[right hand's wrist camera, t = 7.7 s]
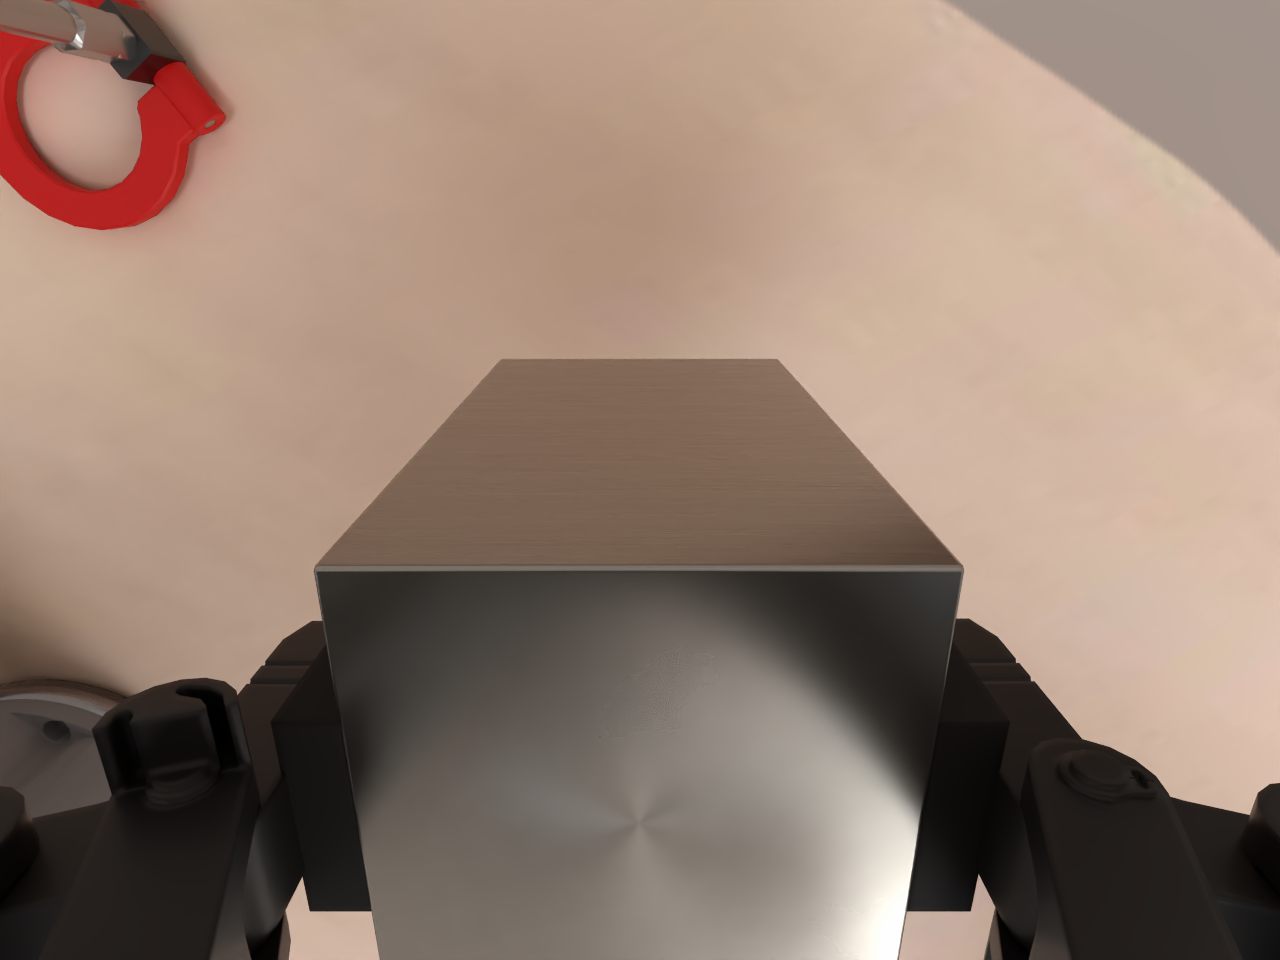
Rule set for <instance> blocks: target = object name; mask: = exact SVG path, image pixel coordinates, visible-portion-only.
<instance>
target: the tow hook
mask: <svg viewBox="0 0 1280 960" xmlns="http://www.w3.org/2000/svg"><path fill="white" fill-rule="evenodd" d="M50 44H53V46H54V47H55V48H56V49H58V50H59V51H61V52H63V53H67V54H72V55H76V56H81V57H85V58H90V59H95V60H100V61H103V62H108V63H110V64H111V65H112V67H113V68H114V69H115V70H116V71H117V73H118V74H119V75H120V76H121V77H122V78H123V79H127V80H132V81H137V82H142V83H147V84H152V85H154V86H153V87H152V88H151V89H150V90H149V91H148V92H147V93H146V94H145V95H144V96H143V97H142V98H141V99H140V100H139V101H138V107H137V110H138V113H139V116H140V120H141V130H142V143H141V150H140V156H139V158H138V160H137V162H136V164H135V167H134V169H133V171H132V172H131V173H130V174H129V175H128V176H127V177H126V178H125V179H124V180H123V181H122V182H121V183H119V184H117V185H115V186H113V187H111V188H109V189H106V190H99V191H95V190H88V189H84V188H81V187H79V186H76V185H74V184H72V183H69V182H67V181H66V180H64V179H63V178H62V177H60V176H59V175H57V174H56V173H54V172H53V171H52V170H51V169H50V168H49V167H48V166H47V165H46V164H45V163H44V162H43V161H42V160H41V159H40V158H39V157H38V155H37V154H36V152H35V151H34V149H33V148H32V146H31V144H30V143H29V141H28V140H27V138H26V135H25V133H24V130H23V128H22V125H21V123H20V120H19V115H18V109H17V102H16V95H17V83H18V79H19V77H20V74H21V71H22V69H23V66H24V65H25V63H26V62H27V61H28V60H29V59H30V57H31V56H32V55H33V54H34V53H35V52H37V51H38V50H40V49H42V48H44V47H45V46H47V45H50ZM225 118H226V115H225V114H224V113H223V111H222V110H221V109H220V108H219V106H218V105H217V104H216V103H215V101H214V100H213V99H212V98H211V96H210V95H209V94H208V93H207V91H206V90H205V89H204V88H203V86H202V85H201V84H200V83H199V81H198V80H197V79H196V78H195V76H194V75H193V74H192V73H191V71H190V70H189V69H188V68H187V66H186V61H185V60H184V58H183V57H182V56H181V55H180V53H179V52H178V51H177V50H176V48H175V47H174V46H173V45H172V43H171V42H170V41H169V40H168V38H167V37H166V36H165V35H164V33H163V32H162V31H161V30H160V28H159V27H158V26H157V25H156V23H155V22H154V21H153V19H152V18H151V17H150V16H149V14H148V13H146V12H145V11H143V10H141V9H140V7H139V6H138V5H137V4H136V2H135V1H134V0H0V175H1V176H2V177H3V178H4V179H5V180H6V181H7V182H8V183H9V184H10V185H11V186H12V187H13V188H14V189H15V190H16V191H17V192H18V193H19V194H20V195H21V196H22V197H23V198H24V199H25V200H27V201H28V202H30V203H31V204H33V205H34V206H35V207H37V208H38V209H40V210H41V211H43V212H44V213H46V214H47V215H49V216H51V217H54V218H56V219H59V220H61V221H63V222H66V223H68V224H71V225H73V226H77V227H84V228H91V229H98V230H107V229H116V228H123V227H130V226H136V225H138V224H140V223H142V222H144V221H146V220H148V219H150V218H152V217H154V216H156V215H157V214H158V213H159V212H160V211H161V210H162V209H163V208H164V207H165V206H166V205H167V204H168V203H169V202H170V201H171V200H172V199H173V198H174V196H175V194H176V192H177V190H178V188H179V185H180V183H181V181H182V179H183V177H184V174H185V168H186V162H187V157H188V151H189V144H190V143H191V142H192V141H193V140H194V139H195V138H196V137H197V136H199V135H205V134H208V133H210V132H212V131H214V130H215V129H217V128H218V127H219V126H220V125H221V124H222V123H223V122H224V121H225Z"/></svg>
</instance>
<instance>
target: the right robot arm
mask: <svg viewBox="0 0 1280 960" xmlns="http://www.w3.org/2000/svg"><path fill="white" fill-rule="evenodd" d="M1030 678H1031V677H1030V675H1029V674H1028V673H1027V672H1026V671H1025V669H1024V668H1023V667H1022V666H1021V665H1020V663H1016V659H1015V657H1014V656H1013V655H1012V654H1011V653H1010V651H1009V650H1008V649H1007V648H1006V646H1005V645H1004V644H1003V643H1002V642H1001V640H1000V639H999V638H998V637H997V636H995V635H994V634H992V633H990V632H989V631H987V630H986V629H984V628H983V627H981V626H980V625H978V624H976V623H975V622H973V621H972V620H970V619H956V621H955V627H954V633H953V639H952V645H951V651H950V657H949V663H948V669H947V675H946V681H945V687H944V693H943V698H942V704H941V710H940V716H939V722H938V728H937V734H936V740H935V746H934V752H933V758H932V764H931V770H930V776H929V782H928V788H927V793H926V799H925V805H924V811H923V817H922V823H921V829H920V835H919V841H918V847H917V853H916V859H915V865H914V871H913V877H912V883H911V889H910V894H909V900H908V906H907V911H971V907H972V902H973V898H974V893H975V888H976V883H977V878H978V874H979V875H980V877H981V879H982V881H983V883H984V885H985V887H986V889H987V891H988V893H989V895H990V897H991V899H992V901H993V903H994V905H995V911H994V915H993V920H992V924H991V929H990V933H989V938H988V942H987V947H986V951H985V956H984V960H1280V783H1276V784H1269V785H1268V786H1267V787H1265V788H1264V789H1263V790H1261V791H1260V792H1258V794H1257V797H1256V800H1255V802H1254V805H1253V808H1252V811H1251V813H1250V815H1247V814H1242V813H1238V812H1233V811H1228V810H1224V809H1219V808H1215V807H1210V806H1206V805H1201V804H1196V803H1192V802H1187V801H1183V800H1180V799H1176V798H1173V797H1170V796H1169V794H1168V792H1167V791H1166V789H1165V788H1164V787H1163V785H1162V784H1161V783H1160V781H1159V780H1158V778H1157V777H1156V776H1155V775H1154V774H1153V773H1151V772H1150V771H1149V770H1147V769H1146V768H1145V767H1144V766H1142V765H1141V764H1140V763H1138V762H1137V761H1136V760H1134V759H1132V758H1130V757H1128V756H1126V755H1124V754H1122V753H1120V752H1118V751H1116V750H1114V749H1112V748H1110V747H1107V746H1104V745H1100V744H1097V743H1094V742H1090V741H1087V740H1082V738H1081V737H1080V736H1079V735H1078V734H1077V732H1076V731H1075V730H1074V729H1073V727H1072V726H1071V725H1070V724H1069V723H1068V721H1067V720H1066V719H1065V718H1064V717H1063V715H1062V714H1061V713H1060V712H1059V711H1058V709H1057V708H1056V707H1055V706H1054V705H1053V703H1052V702H1051V701H1050V700H1049V698H1048V697H1047V696H1046V695H1045V694H1044V692H1043V691H1042V690H1041V689H1040V688H1039V686H1038V685H1037V684H1036V683H1035V682H1034V681H1031V679H1030ZM302 876H303V881H304V886H305V890H306V895H307V900H308V905H309V910H310V911H372V910H371V904H370V898H369V892H368V887H367V881H366V875H365V869H364V863H363V857H362V851H361V845H360V839H359V833H358V828H357V822H356V816H355V810H354V804H353V798H352V792H351V786H350V780H349V774H348V769H347V763H346V757H345V751H344V745H343V739H342V733H341V727H340V721H339V715H338V710H337V704H336V698H335V692H334V686H333V680H332V674H331V668H330V662H329V656H328V651H327V645H326V639H325V633H324V627H323V621H311V622H310V623H308V624H307V625H305V626H303V627H302V628H300V629H299V630H297V631H296V632H294V633H293V634H291V635H290V636H288V637H286V638H285V639H283V640H282V642H281V643H280V644H279V645H278V647H277V648H276V649H275V650H274V651H273V653H272V654H271V655H270V656H269V657H268V659H267V660H266V661H265V666H261V667H260V668H259V670H258V671H257V672H256V673H255V675H254V676H253V677H252V678H251V682H250V684H246V685H245V687H244V688H243V689H242V690H241V692H240V693H239V694H238V695H237V692H236V690H235V689H234V688H233V687H231V686H230V685H229V684H227V683H226V682H225V681H220V680H214V679H209V678H197V679H183V680H178V681H174V682H170V683H166V684H162V685H158V686H154V687H152V688H150V689H147V690H145V691H143V692H140V693H138V694H136V695H134V696H131V697H129V698H127V699H126V698H124V697H122V696H120V695H117V694H114V693H112V692H109V691H107V690H103V689H100V688H97V687H93V686H90V685H85V684H81V683H75V682H69V681H60V680H29V681H20V682H15V683H10V684H6V685H3V686H0V960H289V952H290V943H291V939H290V932H289V925H288V920H287V915H286V911H285V910H286V908H287V906H288V904H289V902H290V900H291V898H292V896H293V894H294V892H295V890H296V888H297V886H298V884H299V882H300V880H301V878H302Z"/></svg>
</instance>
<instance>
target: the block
mask: <svg viewBox="0 0 1280 960" xmlns="http://www.w3.org/2000/svg"><path fill="white" fill-rule="evenodd" d="M314 574H315V580H316V586H317V592H318V597H319V603H320V609H321V615H322V621H323V627H324V633H325V639H326V645H327V651H328V656H329V662H330V668H331V674H332V680H333V686H334V692H335V698H336V704H337V710H338V715H339V721H340V727H341V733H342V739H343V745H344V751H345V757H346V763H347V769H348V774H349V780H350V786H351V792H352V798H353V804H354V810H355V816H356V822H357V828H358V833H359V839H360V845H361V851H362V857H363V863H364V869H365V875H366V881H367V887H368V892H369V898H370V904H371V910H372V916H373V922H374V928H375V934H376V940H377V946H378V951H379V957H380V960H899V954H900V948H901V942H902V936H903V930H904V924H905V918H906V912H907V906H908V900H909V894H910V889H911V883H912V877H913V871H914V865H915V859H916V853H917V847H918V841H919V835H920V829H921V823H922V817H923V811H924V805H925V799H926V793H927V788H928V782H929V776H930V770H931V764H932V758H933V752H934V746H935V740H936V734H937V728H938V722H939V716H940V710H941V704H942V698H943V693H944V687H945V681H946V675H947V669H948V663H949V657H950V651H951V645H952V639H953V633H954V627H955V621H956V615H957V609H958V603H959V597H960V592H961V586H962V580H963V574H964V568H963V565H962V564H961V563H960V562H959V561H958V560H957V559H956V557H955V556H954V555H953V554H952V553H951V552H950V551H949V550H948V548H947V547H946V546H945V545H944V544H943V543H942V542H941V541H940V540H939V538H938V537H937V536H936V535H935V534H934V533H933V532H932V531H931V530H930V528H929V527H928V526H927V525H926V524H925V523H924V522H923V521H922V519H921V518H920V517H919V516H918V515H917V514H916V513H915V512H914V511H913V509H912V508H911V507H910V506H909V505H908V504H907V503H906V502H905V501H904V499H903V498H902V497H901V496H900V495H899V494H898V493H897V492H896V490H895V489H894V488H893V487H892V486H891V485H890V484H889V483H888V482H887V480H886V479H885V478H884V477H883V476H882V475H881V474H880V473H879V471H878V470H877V469H876V468H875V467H874V466H873V465H872V464H871V463H870V461H869V460H868V459H867V458H866V457H865V456H864V455H863V454H862V453H861V451H860V450H859V449H858V448H857V447H856V446H855V445H854V444H853V442H852V441H851V440H850V439H849V438H848V437H847V436H846V435H845V434H844V432H843V431H842V430H841V429H840V428H839V427H838V426H837V425H836V423H835V422H834V421H833V420H832V419H831V418H830V417H829V416H828V415H827V413H826V412H825V411H824V410H823V409H822V408H821V407H820V406H819V405H818V403H817V402H816V401H815V400H814V399H813V398H812V397H811V396H810V394H809V393H808V392H807V391H806V390H805V389H804V388H803V387H802V386H801V384H800V383H799V382H798V381H797V380H796V379H795V378H794V377H793V375H792V374H791V373H790V372H789V371H788V370H787V369H786V368H785V367H784V365H783V364H782V363H781V362H780V361H779V360H778V359H501V360H500V361H499V362H498V363H497V364H496V366H495V367H494V368H493V369H492V370H491V371H490V372H489V373H488V374H487V376H486V377H485V378H484V379H483V380H482V381H481V382H480V383H479V384H478V385H477V387H476V388H475V389H474V390H473V391H472V392H471V393H470V394H469V395H468V397H467V398H466V399H465V400H464V401H463V402H462V403H461V404H460V405H459V407H458V408H457V409H456V410H455V411H454V412H453V413H452V414H451V415H450V417H449V418H448V419H447V420H446V421H445V422H444V423H443V424H442V425H441V427H440V428H439V429H438V430H437V431H436V432H435V433H434V434H433V435H432V437H431V438H430V439H429V440H428V441H427V442H426V443H425V444H424V445H423V447H422V448H421V449H420V450H419V451H418V452H417V453H416V454H415V455H414V457H413V458H412V459H411V460H410V461H409V462H408V463H407V464H406V465H405V466H404V468H403V469H402V470H401V471H400V472H399V473H398V474H397V475H396V476H395V478H394V479H393V480H392V481H391V482H390V483H389V484H388V485H387V486H386V488H385V489H384V490H383V491H382V492H381V493H380V494H379V495H378V496H377V498H376V499H375V500H374V501H373V502H372V503H371V504H370V505H369V506H368V508H367V509H366V510H365V511H364V512H363V513H362V514H361V515H360V516H359V518H358V519H357V520H356V521H355V522H354V523H353V524H352V525H351V526H350V528H349V529H348V530H347V531H346V532H345V533H344V534H343V535H342V536H341V538H340V539H339V540H338V541H337V542H336V543H335V544H334V545H333V546H332V548H331V549H330V550H329V551H328V552H327V553H326V554H325V555H324V556H323V557H322V559H321V560H320V561H319V562H318V563H317V564H316V565H315V568H314Z"/></svg>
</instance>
